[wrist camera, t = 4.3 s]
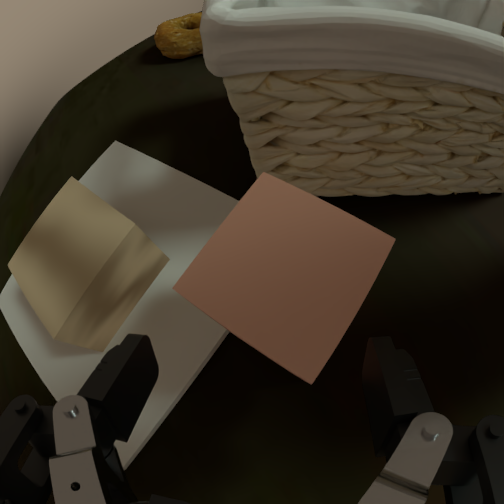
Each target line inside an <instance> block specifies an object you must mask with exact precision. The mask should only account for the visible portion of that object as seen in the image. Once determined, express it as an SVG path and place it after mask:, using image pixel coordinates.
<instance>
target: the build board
mask: <svg viewBox="0 0 504 504" xmlns="http://www.w3.org/2000/svg"><path fill="white" fill-rule="evenodd" d="M78 182H80V183H81V184H82V185H84V186H85V187H86V188H88V189H89V190H90V191H92V192H93V193H94V194H96V195H97V196H98V197H100V198H101V199H102V200H104V201H105V202H106V203H108V204H109V205H110V206H112V207H113V208H114V209H116V210H117V211H119V212H120V213H121V214H123V215H124V216H125V217H127V218H128V219H130V220H131V221H132V222H134V223H135V224H136V225H137V226H138V227H139V228H140V229H141V230H142V231H143V232H144V233H145V234H146V235H147V236H148V237H149V238H150V239H151V241H152V242H153V243H154V244H155V245H156V246H157V247H158V248H159V249H160V250H161V251H162V252H163V253H164V254H165V255H166V256H167V257H168V258H169V259H170V260H169V261H168V263H167V264H166V265H165V267H164V268H163V269H162V271H161V272H160V273H159V275H158V276H157V277H156V279H155V280H154V281H153V283H152V284H151V285H150V287H149V288H148V289H147V291H146V292H145V293H144V295H143V296H142V298H141V299H140V300H139V302H138V303H137V304H136V306H135V307H134V309H133V310H132V311H131V313H130V314H129V316H128V317H127V318H126V320H125V321H124V323H123V324H122V325H121V327H120V328H119V330H118V331H117V333H116V334H115V335H114V337H113V338H112V340H111V341H110V343H109V344H108V346H107V347H106V349H105V350H104V351H103V352H100V351H96V350H92V349H88V348H84V347H80V346H76V345H72V344H69V343H65V342H62V341H58V340H55V339H53V337H52V336H51V334H50V333H49V332H48V330H47V329H46V327H45V326H44V324H43V323H42V321H41V320H40V318H39V317H38V315H37V314H36V312H35V311H34V309H33V308H32V306H31V305H30V303H29V301H28V300H27V298H26V296H25V295H24V293H23V292H22V290H21V288H20V286H19V285H18V283H17V281H16V279H15V278H14V276H13V274H12V275H11V277H10V278H9V280H8V282H7V284H6V285H5V287H4V289H3V291H2V292H1V294H0V309H1V311H2V313H3V315H4V317H5V319H6V321H7V322H8V324H9V326H10V328H11V330H12V332H13V334H14V335H15V337H16V339H17V341H18V343H19V344H20V346H21V348H22V349H23V351H24V353H25V354H26V356H27V358H28V359H29V361H30V362H31V364H32V366H33V367H34V369H35V370H36V372H37V373H38V375H39V376H40V378H41V379H42V381H43V382H44V384H45V385H46V387H47V388H48V389H49V391H50V392H51V394H52V395H53V396H54V398H55V399H56V400H57V402H58V401H59V400H60V399H62V398H64V397H66V396H69V395H77V393H78V392H79V390H80V389H81V388H82V386H83V385H84V383H85V382H86V380H87V379H88V378H89V376H90V375H91V373H92V372H93V370H95V368H96V366H97V365H98V364H99V363H100V362H101V359H102V358H103V357H104V355H105V354H106V352H108V351H109V350H110V349H112V348H113V347H114V346H116V345H120V344H121V342H122V341H123V340H124V338H125V337H126V335H127V334H129V333H131V334H141V335H147V336H149V338H150V340H151V344H152V347H153V350H154V353H155V356H156V359H157V363H158V366H159V375H158V379H157V381H156V384H155V386H154V388H153V390H152V392H151V394H150V396H149V398H148V400H147V402H146V404H145V406H144V408H143V410H142V412H141V414H140V416H139V418H138V421H137V423H136V425H135V427H134V429H133V431H132V433H131V435H130V437H129V440H128V442H127V443H126V442H122V441H119V440H115V442H114V445H115V447H116V448H117V451H118V454H119V457H120V461H121V464H122V466H123V469H124V470H126V469H127V467H128V466H129V465H130V464H131V462H132V461H133V460H134V458H135V457H136V456H137V455H138V453H139V452H140V451H141V449H142V448H143V447H144V446H145V444H146V443H147V442H148V440H149V439H150V438H151V437H152V435H153V434H154V433H155V431H156V430H157V429H158V427H159V426H160V425H161V424H162V422H163V421H164V420H165V418H166V417H167V416H168V414H169V413H170V412H171V410H172V409H173V408H174V406H175V405H176V404H177V402H178V401H179V400H180V398H181V397H182V396H183V394H184V393H185V392H186V390H187V389H188V388H189V386H190V385H191V384H192V382H193V381H194V380H195V378H196V377H197V376H198V374H199V373H200V372H201V370H202V369H203V367H204V366H205V365H206V363H207V362H208V361H209V359H210V358H211V357H212V355H213V354H214V352H215V351H216V350H217V348H218V347H219V346H220V344H221V343H222V341H223V340H224V339H225V337H226V336H227V335H228V333H229V332H230V331H228V330H227V329H226V328H224V327H223V326H221V325H220V324H219V323H217V322H216V321H215V320H213V319H212V318H210V317H209V316H208V315H206V314H205V313H204V312H202V311H201V310H200V309H198V308H197V307H196V306H194V305H193V304H192V303H190V302H189V301H188V300H186V299H185V298H184V297H183V296H181V295H180V294H179V293H177V292H176V291H175V290H174V289H172V288H173V286H174V285H175V284H176V282H177V281H178V280H179V278H180V277H181V276H182V274H183V273H184V272H185V270H186V269H187V268H188V267H189V265H190V264H191V263H192V261H193V260H194V259H195V257H196V256H197V255H198V253H199V252H200V251H201V250H202V248H203V247H204V246H205V244H206V243H207V242H208V240H209V239H210V238H211V237H212V235H213V234H214V233H215V231H216V230H217V229H218V228H219V226H220V225H221V224H222V223H223V221H224V220H225V219H226V217H227V216H228V215H229V214H230V212H231V211H232V210H233V209H234V207H235V206H236V205H237V204H238V202H239V201H238V200H236V199H234V198H232V197H230V196H228V195H226V194H224V193H222V192H220V191H218V190H216V189H214V188H212V187H211V186H209V185H207V184H205V183H203V182H201V181H199V180H197V179H195V178H193V177H191V176H188V175H186V174H184V173H182V172H180V171H178V170H176V169H174V168H172V167H170V166H168V165H166V164H164V163H162V162H160V161H158V160H156V159H154V158H151V157H149V156H147V155H145V154H143V153H141V152H139V151H137V150H135V149H132V148H130V147H128V146H126V145H124V144H122V143H120V142H117V141H115V142H114V143H113V144H112V145H111V146H110V147H109V148H108V149H107V150H106V151H105V152H104V153H103V154H102V155H101V156H100V157H99V159H98V160H97V161H96V162H95V163H94V164H93V165H92V166H91V167H90V169H89V170H88V171H87V172H86V173H85V174H84V176H83V177H82V178H81V179H80V180H79V181H78Z"/></svg>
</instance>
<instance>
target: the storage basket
mask: <svg viewBox="0 0 504 504" xmlns="http://www.w3.org/2000/svg"><path fill="white" fill-rule="evenodd" d="M502 27H503V28H504V0H204V4H203V9H202V16H201V23H200V29H199V30H200V34H201V39H202V45H203V57H204V60H205V65H206V67H207V69H208V70H209V71H210V72H211V73H212V74H214V75H215V76H218V77H223V83H224V85H225V87H226V89H227V95H228V98H229V101H230V104H231V106H232V108H233V109H234V111H235V112H236V113H237V115H238V116H239V118H240V127H241V130H242V133H244V141H245V143H246V146H247V147H248V148H249V154H250V157H251V159H250V160H251V163H252V166H253V168H254V170H255V172H256V176H257V178H259V176H260V175H261V174H262V173H263V172H265V173H267V174H270V175H272V176H274V177H276V178H278V179H280V180H282V181H285V182H287V183H289V184H291V185H293V186H295V187H297V188H299V189H301V190H303V191H305V192H308V193H310V194H312V195H314V196H325V197H336V196H348V195H351V196H352V195H354V194H356V195H360V196H368V197H380V196H386V195H392V194H398V195H421V194H427V193H431V194H434V195H448V194H451V193H453V192H454V193H455V194H457V193H463V192H478V193H479V194H481V193H486V194H490V193H492V192H498V193H502V192H504V37H502V36H501V31H502Z"/></svg>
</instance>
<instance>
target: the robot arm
mask: <svg viewBox="0 0 504 504" xmlns="http://www.w3.org/2000/svg"><path fill="white" fill-rule="evenodd" d="M158 375H159V366H158V363H157V359H156V356H155V353H154V350H153V347H152V344H151V340H150V338H149V336H147V335H141V334H131V333H129V334H127V335H126V337H125V338H124V340H123V341H122V342H121V344H120V345H116V346H114V347H113V348H112V349H110V350H109V351H108V352H106V354H105V355H104V357H103V358H102V359H101V362H100V363H99V364H98V365H97V366H96V368H95V370H93V372H92V373H91V375H90V376H89V378H88V379H87V380H86V382H85V383H84V385H83V386H82V388H81V389H80V390H79V392H78V393H77V395H69V396H66V397H64V398H62V399H60V400H59V401H58V402H57V403H56V404H55V406H39V405H38V404H37V402H36V401H35V399H34V398H33V397H32V396H30V395H21V396H18V397H16V398H15V399H13V400H12V401H11V402H10V403H9V405H8V406H7V408H6V409H5V410H4V412H3V413H2V415H1V416H0V504H46V502H47V500H48V498H49V495H50V493H51V491H52V489H53V493H54V499H55V504H190V503H188V502H185V501H181V500H176V499H171V498H167V497H163V496H158V495H154V494H151V497H150V500H149V501H140V502H139V501H138V500H137V498H136V496H135V495H134V493H133V492H132V490H131V488H130V486H129V483H128V481H127V478H126V475H125V472H124V469H123V466H122V464H121V461H120V457H119V454H118V451H117V448H116V447H115V445H114V442H115V440H119V441H122V442H126V443H127V442H128V440H129V437H130V435H131V433H132V431H133V429H134V427H135V425H136V423H137V421H138V418H139V416H140V414H141V412H142V410H143V408H144V406H145V404H146V402H147V400H148V398H149V396H150V394H151V392H152V390H153V388H154V386H155V384H156V381H157V379H158ZM362 386H363V391H364V395H365V400H366V405H367V410H368V416H369V421H370V426H371V432H372V438H373V443H374V449H375V456H376V457H381V456H386V461H387V464H386V466H385V467H384V469H383V470H382V472H381V473H380V474H379V475H378V477H377V478H376V480H375V481H374V482H373V484H372V485H371V487H370V488H369V489H368V491H367V492H366V493H365V495H364V496H363V497H362V499H361V500H360V501H359V503H358V504H424V503H425V501H426V499H427V497H428V494H429V493H428V492H427V491H428V489H429V486H430V485H443V487H444V493H445V500H446V504H504V418H503V417H501V416H498V415H489V416H486V417H484V418H483V419H481V420H480V422H479V423H478V425H477V426H456V425H452V424H451V423H450V421H449V420H448V419H447V418H446V417H445V416H443V415H441V414H439V413H435V411H434V409H433V406H432V404H431V401H430V398H429V396H428V393H427V391H426V388H425V386H424V383H423V381H422V379H421V376H420V374H419V371H418V370H417V366H416V364H415V362H414V359H413V357H412V356H411V355H409V354H408V353H407V352H406V351H405V350H404V349H395V346H394V344H393V341H392V339H391V337H390V336H382V337H370V338H369V339H368V342H367V348H366V353H365V358H364V363H363V368H362ZM28 442H29V443H30V445H31V446H32V447H33V449H32V451H31V453H30V455H29V457H28V458H27V460H26V462H25V464H24V466H23V468H22V469H21V471H20V470H19V469H18V465H17V462H18V459H19V457H20V455H21V453H22V451H23V450H24V448H25V446H26V445H27V443H28Z"/></svg>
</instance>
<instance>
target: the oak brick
mask: <svg viewBox="0 0 504 504" xmlns="http://www.w3.org/2000/svg"><path fill="white" fill-rule="evenodd" d="M169 260H170V259H169V258H168V257H167V256H166V255H165V254H164V253H163V252H162V251H161V250H160V249H159V248H158V247H157V246H156V245H155V244H154V243H153V242H152V241H151V239H150V238H149V237H148V236H147V235H146V234H145V233H144V232H143V231H142V230H141V229H140V228H139V227H138V226H137V225H136V224H135V223H134V222H132V221H131V220H130V219H128V218H127V217H125V216H124V215H123V214H121V213H120V212H119V211H117V210H116V209H114V208H113V207H112V206H110V205H109V204H108V203H106V202H105V201H104V200H102V199H101V198H100V197H98V196H97V195H96V194H94V193H93V192H92V191H90V190H89V189H88V188H86V187H85V186H84V185H82V184H81V183H80V182H78V181H77V180H76V179H75V178H73V177H72V176H71V178H70V179H69V180H68V181H67V182H66V184H65V185H64V186H63V187H62V189H61V190H60V191H59V192H58V194H57V195H56V196H55V197H54V199H53V200H52V201H51V202H50V204H49V205H48V206H47V208H46V209H45V210H44V212H43V213H42V214H41V216H40V217H39V219H38V220H37V221H36V223H35V224H34V226H33V227H32V228H31V230H30V231H29V233H28V234H27V236H26V237H25V239H24V240H23V242H22V243H21V245H20V246H19V248H18V249H17V251H16V252H15V254H14V256H13V257H12V259H11V261H10V262H9V264H8V267H9V269H10V270H11V272H12V274H13V276H14V278H15V279H16V281H17V283H18V285H19V286H20V288H21V290H22V292H23V293H24V295H25V296H26V298H27V300H28V301H29V303H30V305H31V306H32V308H33V309H34V311H35V312H36V314H37V315H38V317H39V318H40V320H41V321H42V323H43V324H44V326H45V327H46V329H47V330H48V332H49V333H50V334H51V336H52V337H53V339H55V340H58V341H62V342H65V343H69V344H72V345H76V346H80V347H84V348H88V349H92V350H96V351H100V352H103V351H104V350H105V349H106V347H107V346H108V344H109V343H110V341H111V340H112V338H113V337H114V335H115V334H116V333H117V331H118V330H119V328H120V327H121V325H122V324H123V323H124V321H125V320H126V318H127V317H128V316H129V314H130V313H131V311H132V310H133V309H134V307H135V306H136V304H137V303H138V302H139V300H140V299H141V298H142V296H143V295H144V293H145V292H146V291H147V289H148V288H149V287H150V285H151V284H152V283H153V281H154V280H155V279H156V277H157V276H158V275H159V273H160V272H161V271H162V269H163V268H164V267H165V265H166V264H167V263H168V261H169Z"/></svg>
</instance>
